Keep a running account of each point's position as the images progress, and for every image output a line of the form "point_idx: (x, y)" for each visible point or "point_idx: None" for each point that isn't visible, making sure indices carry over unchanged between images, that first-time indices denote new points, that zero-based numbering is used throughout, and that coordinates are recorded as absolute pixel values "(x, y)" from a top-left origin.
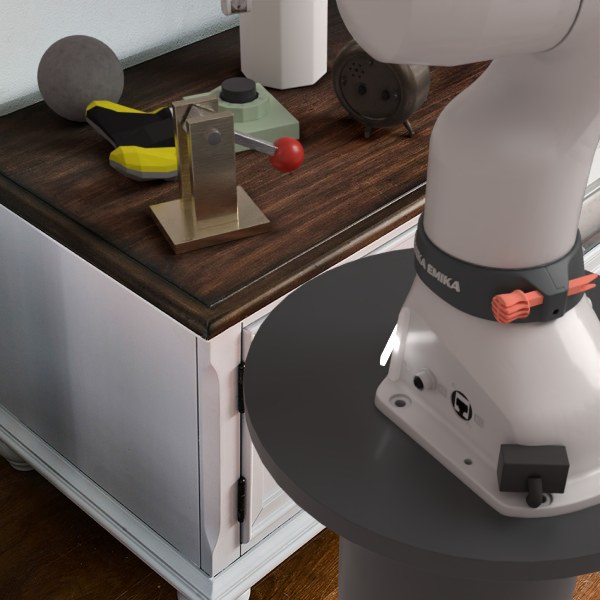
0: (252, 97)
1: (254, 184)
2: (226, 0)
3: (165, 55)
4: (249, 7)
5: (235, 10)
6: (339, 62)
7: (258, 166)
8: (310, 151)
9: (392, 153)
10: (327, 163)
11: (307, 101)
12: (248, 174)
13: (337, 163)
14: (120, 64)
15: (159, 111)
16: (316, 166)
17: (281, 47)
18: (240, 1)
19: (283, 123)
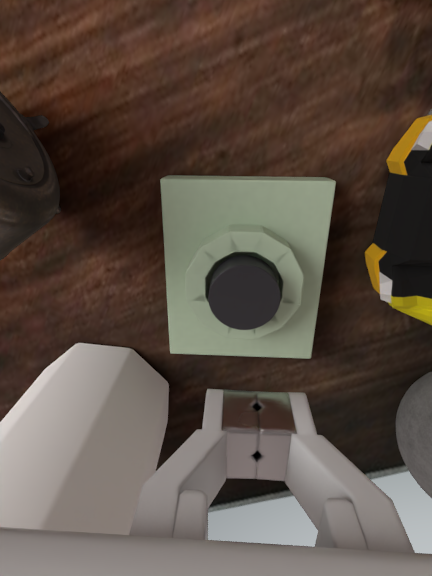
0: (227, 262)
1: (322, 30)
2: (317, 435)
3: (245, 496)
4: (213, 397)
5: (271, 398)
6: (6, 191)
7: (280, 105)
8: (165, 119)
9: (15, 31)
10: (153, 52)
11: (105, 299)
12: (312, 80)
13: (134, 42)
14: (426, 441)
15: (409, 295)
16: (178, 49)
17: (105, 397)
18: (250, 422)
19: (191, 186)
